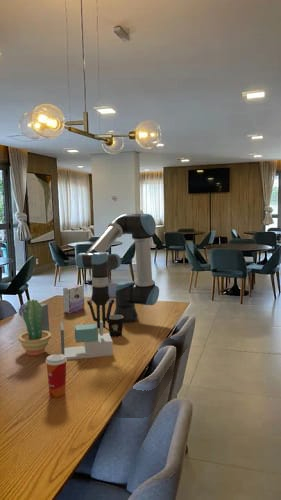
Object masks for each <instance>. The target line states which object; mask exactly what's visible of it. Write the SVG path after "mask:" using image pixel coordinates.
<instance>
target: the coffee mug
mask: <svg viewBox="0 0 281 500" xmlns="http://www.w3.org/2000/svg"><path fill="white" fill-rule="evenodd" d="M123 318H124V317H123V316H122V315H114V314H110V317H109V320H106V321H105V322H106V324H107V325H108V327H106V326H105V328H104V329H105V330H107V331H108V333H109V335H110V337H111V338H120V337H122V336H121V335H123V327H124V323H123ZM119 336H120V337H119Z"/></svg>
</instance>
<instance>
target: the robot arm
mask: <svg viewBox="0 0 281 500" xmlns="http://www.w3.org/2000/svg"><path fill="white" fill-rule="evenodd" d="M156 229H157V226H156V221H155V218H154V217H153V215H151V214H150V213H144V212H143V213H124V214H122V215H119V216H118V217H115V218H114V219H113V220H112V221H110V223H109V224H108V225H107V229H105V231H104V232H103V233H102V234H101V236H99V238H97V240H96V241H95V242H94V243H93V244H92V245H91V246H90V248H88V249H87V251H85V252H80V253H78V254H77V256H76V258H75V263H76V266H77V267H78V268H80V269H91V285H92V286H91V287H92V288H91V290H92V291H91V292H92V295H91V299H89V300H86V303H87V305H88V306H89V309H90V313H91V316H92V320H93V321H94V322H96V325H97V328H98V333H99V334H100V336H103V333H104V329H105V327H106V322H107V321H106V320H109V317H110V315H111V314H112V313H111V312H112V307H113V305H114V303H115V309H114V312H113V315H122V316H123V317H124V318H123V324H124V323H126V322H129V323H133V321H134V322H136V321H138V320H139V319H138V318H139V315H138V312H137V309H136V305H142V306H154V305H155V304H156V303H157V302H158V299H159V297H160V287H159V286H158V285H156V282H155V280H154V279H153V273H152V270H153V269H152V253H151V252H152V251H151V239H152V238H153V235H154V234H155V233H156ZM123 235H131V239H132V240H133V241H134V246H135V247H134V248H135V260H136V261H135V262H136V264H135V265H136V274H137V281H136V282H135V281H133V280H126V281H125V280H124V281H120V282H118V283H116V284H115V290H114V293H115V300H114V298H111V297H110V295H109V293H110V292H109V286H108V285H109V272H110V271H113V270H116V269H118V268H120V267H121V265H122V258H121V256H120V255H119V254H117V253H110V254H108V253H107V251H108V250H109V249H110V248H111V246H112V245H113V243H114V242H115V241H117V239H118V238H121V237H122V236H123ZM93 303H94V304H95V308H96V313H95V310H94V308H93V307H94V306H93ZM107 303H108V306H107V311H106V305H107ZM137 319H138V320H137ZM126 324H127V323H126Z"/></svg>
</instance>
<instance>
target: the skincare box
mask: <svg viewBox="0 0 281 500" xmlns="http://www.w3.org/2000/svg"><path fill="white" fill-rule="evenodd" d="M40 305H41V306H42V320H41V327H42V331H48V332H50V322H49V321H50V320H49V319H50V318H49V307H48V303H40Z"/></svg>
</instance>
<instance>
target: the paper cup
mask: <svg viewBox="0 0 281 500" xmlns="http://www.w3.org/2000/svg"><path fill="white" fill-rule="evenodd" d="M67 361H68V360H67V359H66V356H65V355H63V354H62V353H60V354H59V353H56V354H54V353H53V354H50V355H47V357H46V360H45V364H46V373H47V382H48V391H49V393H48V394H49V396H50V397H52V398H61V397H63V396H65V394H66V377H67V375H66V373H67Z"/></svg>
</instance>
